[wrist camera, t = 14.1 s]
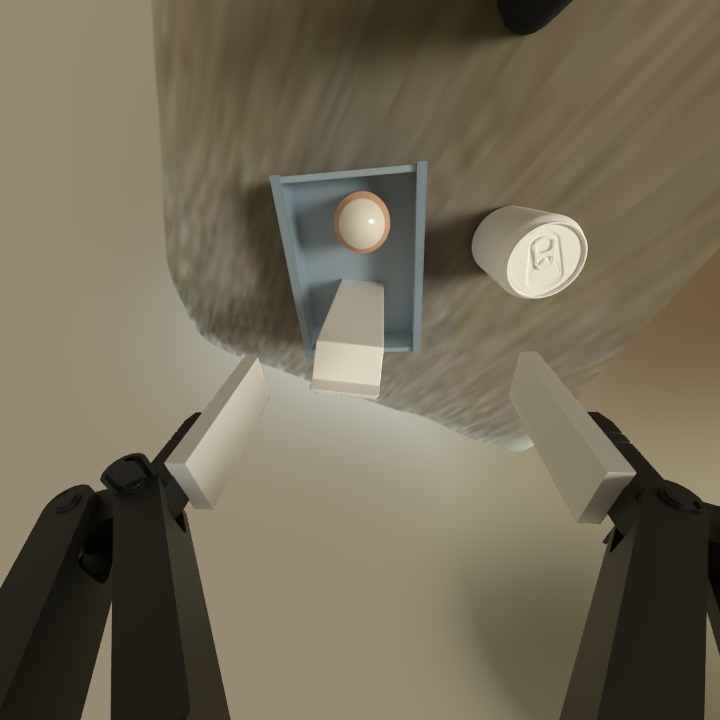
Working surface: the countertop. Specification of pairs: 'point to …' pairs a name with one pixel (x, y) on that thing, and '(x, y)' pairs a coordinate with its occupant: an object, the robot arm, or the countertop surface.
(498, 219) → the beverage can
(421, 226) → the tote
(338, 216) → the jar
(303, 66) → the countertop surface
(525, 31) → the wine bottle
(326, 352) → the milk
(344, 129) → the countertop surface
